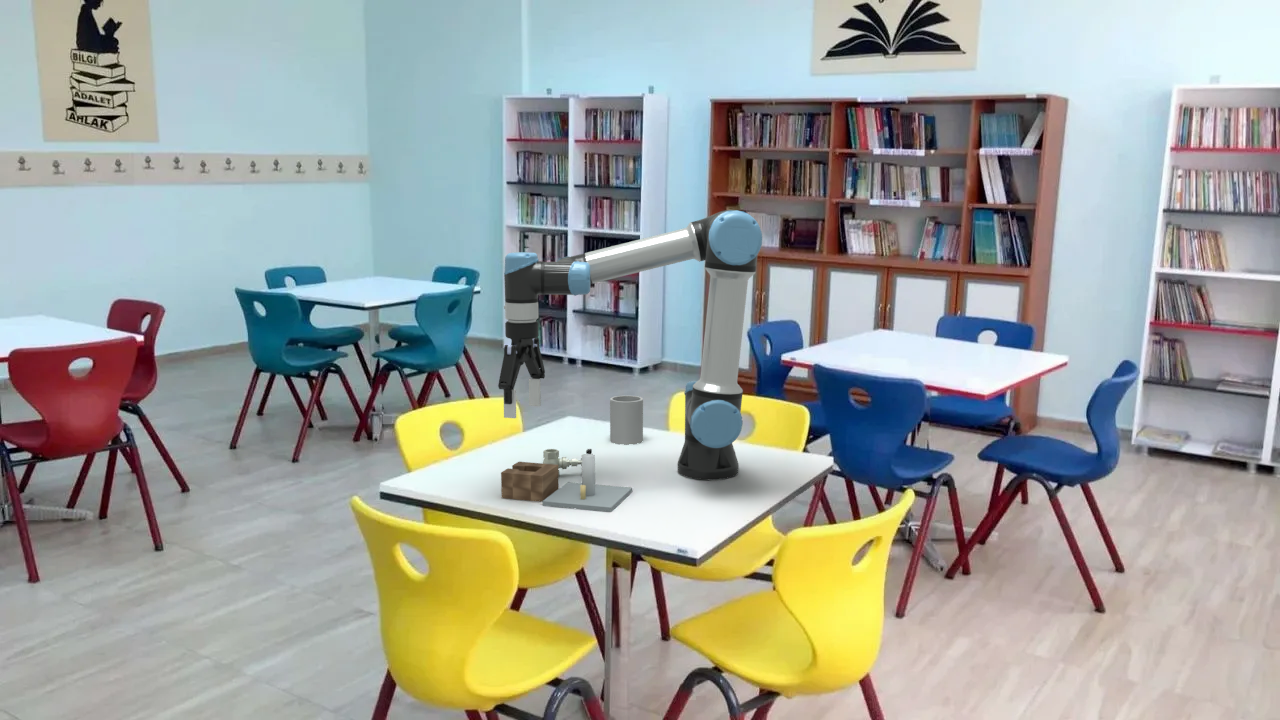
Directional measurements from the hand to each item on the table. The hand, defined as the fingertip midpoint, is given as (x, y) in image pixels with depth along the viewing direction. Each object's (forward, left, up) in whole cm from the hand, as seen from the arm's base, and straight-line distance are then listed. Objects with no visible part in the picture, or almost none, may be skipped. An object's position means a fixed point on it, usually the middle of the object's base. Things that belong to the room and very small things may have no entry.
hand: (522, 411), depth 239 cm
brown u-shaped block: (-3, +3, -19) cm, 19 cm away
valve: (-6, -14, -19) cm, 24 cm away
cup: (-9, -52, -19) cm, 56 cm away
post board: (-17, +3, -19) cm, 25 cm away
